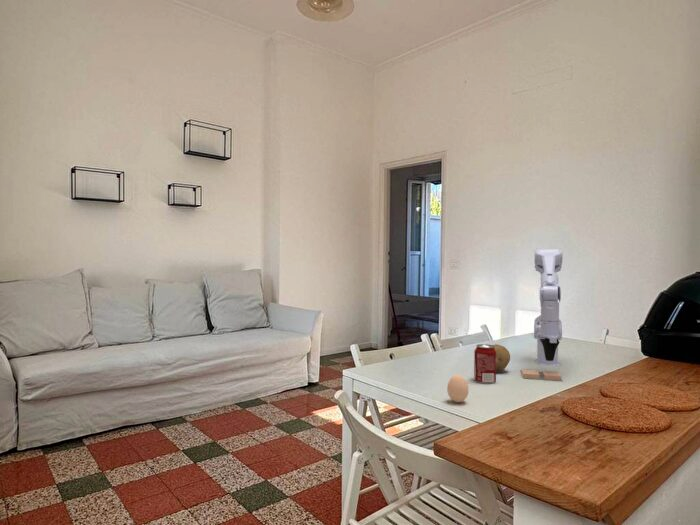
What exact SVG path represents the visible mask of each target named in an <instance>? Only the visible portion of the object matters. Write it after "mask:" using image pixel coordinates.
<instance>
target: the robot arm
mask: <svg viewBox="0 0 700 525" xmlns="http://www.w3.org/2000/svg"><path fill="white" fill-rule="evenodd" d="M563 253H564V252H563V249H561V248H541V249H540V248H535V250H534V269H535V271H536V272H538V273H539V274H540V286H539V303H540V315H538V316H537V317H536V318H535V319H534V323H533V338H534V339H535V340H536V341H537V342H536V348H537V349H536V352H537V353H536V354H537V355H536V356H537V357H536V358H534V362H536V364H537V365H539V366H542V365H543V366H558V367H560V366H562V365H561V364H560V363H559V344H560V341H561V340H562V339H563V324H562V319H561V318H560V303H561V299H562V289H561V285H560V284H559V275H558V274H557V273H558V272H561V270H562V265H563V255H564V254H563Z"/></svg>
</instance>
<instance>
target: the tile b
mask: <svg viewBox="0 0 700 525" xmlns="http://www.w3.org/2000/svg"><path fill="white" fill-rule="evenodd" d="M541 372H542V376H543V378H544V379H545V380H544V381H547V380H559V381H558V382H562V381H561V379H562V376H561V374H560V373H559V372H558V371H550V370H542V371H541Z"/></svg>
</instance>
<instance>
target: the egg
mask: <svg viewBox="0 0 700 525" xmlns="http://www.w3.org/2000/svg"><path fill="white" fill-rule="evenodd" d="M446 389H447V395H448V396H449V399H451V401H453V402H455V403H462V402H464V401H466V399H467V398H468V396H469V385H468V382H467V380H466V379H465V378H464V377H463V376H462V375H460V374H455V375H453V376H452V377H451V378H450V379H449V381H448V383H447V388H446Z"/></svg>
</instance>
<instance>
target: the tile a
mask: <svg viewBox="0 0 700 525" xmlns="http://www.w3.org/2000/svg"><path fill="white" fill-rule="evenodd" d="M521 370H522V374H521V376H522V378H523V379H524V378H528V379H527V380H532V379H540V374H539V373H538V370H535V369H533V370H532V369H521Z"/></svg>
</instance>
